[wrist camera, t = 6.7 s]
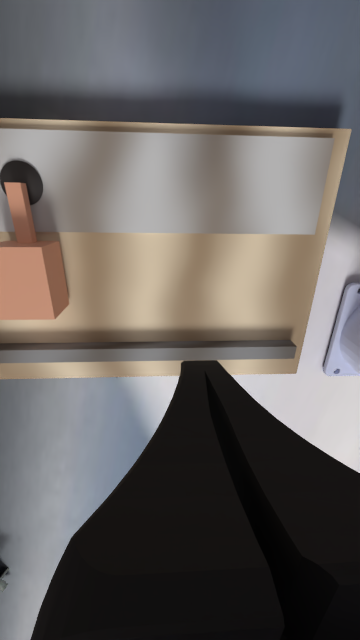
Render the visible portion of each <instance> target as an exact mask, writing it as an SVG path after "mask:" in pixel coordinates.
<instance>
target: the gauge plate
mask: <svg viewBox="0 0 360 640" xmlns="http://www.w3.org/2000/svg"><path fill="white" fill-rule="evenodd" d="M350 134H351V129H333V128H301V127H269V126H237V125H205V124H173V123H141V122H109V121H77V120H45V119H13V118H0V242H3V241H17V238H16V234H15V229H14V225H13V220H12V216H11V211H10V207H9V202H8V198H7V193H6V189H5V184H4V182H9V183H26V187H27V192H28V197H29V203H30V208H31V213H32V218H33V223H34V228H35V233H36V239H37V241H59V244H60V250H61V256H62V262H63V268H64V274H65V281H66V287H67V293H68V299H69V305H68V306H67V307H66V308H65V309H64V310H63V311H62V313H61V314H60V315H59V316H58V317H57V318H56V319H52V320H0V379H32V378H85V377H138V376H180V372H181V363H182V362H183V361H193V360H217V361H218V362H219V363H220V364H221V365H222V366H223V367H224V368H225V370H226V371H227V372H228V373H229V374H230V375H244V374H296V372H297V368H298V364H299V359H300V355H301V350H302V346H303V342H304V337H305V333H306V328H307V324H308V319H309V315H310V311H311V306H312V302H313V297H314V293H315V288H316V284H317V280H318V275H319V271H320V266H321V262H322V258H323V253H324V249H325V244H326V240H327V235H328V231H329V227H330V222H331V218H332V213H333V209H334V205H335V200H336V196H337V191H338V187H339V182H340V178H341V174H342V169H343V165H344V160H345V156H346V151H347V147H348V143H349V138H350Z"/></svg>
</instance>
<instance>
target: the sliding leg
mask: <svg viewBox="0 0 360 640" xmlns="http://www.w3.org/2000/svg"><path fill="white" fill-rule="evenodd" d="M4 184H5V189H6V193H7V198H8V202H9V207H10V211H11V216H12V220H13V225H14V229H15V234H16V238H17V241H3V242H0V320H52V319H56V318H57V317H58V316H59V315H60V314H61V313H62V311H63V310H64V309H65V308H66V307H67V306H68V305H69V299H68V293H67V287H66V281H65V274H64V268H63V262H62V256H61V250H60V244H59V241H37V239H36V233H35V228H34V223H33V218H32V213H31V208H30V203H29V197H28V192H27V187H26V183H9V182H4Z"/></svg>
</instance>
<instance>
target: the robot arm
mask: <svg viewBox="0 0 360 640" xmlns="http://www.w3.org/2000/svg"><path fill="white" fill-rule="evenodd" d="M359 288H360V283H350V284H348V285H347V286H346V288H345V291H344V294H343V298H342V302H341V305H340V309H339V313H338V316H337V320H336V324H335V327H334V331H333V335H332V338H331V342H330V346H329V349H328V353H327V357H326V360H325V364H324V368H323V372H324V373H325V374H326V375H327V376H359V375H360V291H359V292H358V289H359ZM335 369H337V370H336V371H334V370H335ZM31 640H360V473H358V472H356V471H355V470H353V469H351V468H349V467H348V466H346V465H344V464H343V463H341V462H339V461H338V460H336V459H334V458H333V457H331V456H329V455H328V454H326V453H325V452H323V451H322V450H320V449H319V448H317V447H315V446H314V445H312V444H311V443H309V442H308V441H306V440H305V439H303V438H302V437H301V436H299V435H298V434H296V433H295V432H294V431H292V430H291V429H290V428H288V427H287V426H286V425H284V424H283V423H282V422H280V421H279V420H278V419H276V418H275V417H274V416H273V415H272V414H270V413H269V412H268V411H267V410H266V409H265V408H263V407H262V406H261V405H260V404H259V403H258V402H257V401H256V400H254V399H253V398H252V397H251V396H250V395H249V394H248V393H247V392H246V391H245V390H244V389H243V388H242V387H241V386H240V385H239V384H238V383H237V382H236V381H235V379H234V378H233V377H232V376H231V375H230V374H229V373H228V372H227V371H226V370H225V368H224V367H223V366H222V365H221V364H220V363H219V362H218V361H217V360H193V361H183V362H182V363H181V372H180V377H179V380H178V384H177V387H176V389H175V392H174V395H173V398H172V400H171V402H170V404H169V407H168V409H167V411H166V413H165V415H164V417H163V419H162V421H161V423H160V425H159V426H158V428H157V430H156V432H155V433H154V435H153V437H152V438H151V440H150V441H149V443H148V445H147V446H146V448H145V449H144V451H143V452H142V454H141V455H140V457H139V458H138V459H137V461H136V462H135V464H134V465H133V466H132V468H131V469H130V470H129V471H128V473H127V474H126V475H125V476H124V478H123V479H122V480H121V482H120V483H119V484H118V485H117V487H116V488H115V489H114V490H113V492H112V493H111V494H110V495H109V496H108V498H107V499H106V500H105V501H104V502H103V503H102V504H101V505H100V507H99V508H98V509H97V510H96V511H95V512H94V513H93V514H92V515H91V516H90V518H89V519H88V520H87V521H86V522H85V523H84V524H83V525H82V526H81V527H80V529H79V530H78V531H77V532H76V533H75V534H74V535H73V536H72V538H71V540H70V542H69V544H68V546H67V548H66V550H65V552H64V554H63V556H62V558H61V560H60V562H59V564H58V566H57V569H56V571H55V573H54V575H53V578H52V580H51V582H50V585H49V587H48V590H47V593H46V595H45V597H44V600H43V602H42V605H41V608H40V611H39V614H38V617H37V620H36V624H35V627H34V630H33V634H32V637H31Z"/></svg>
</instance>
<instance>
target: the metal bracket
mask: <svg viewBox="0 0 360 640" xmlns="http://www.w3.org/2000/svg"><path fill="white" fill-rule="evenodd" d="M8 570H9V568H7V569H6V571H5V572H4V573H3V574H2V575H1V576H0V590H2V592H3V591H4V589H5V588H6V586H7V585H8V583H6V582H5V581H4V580H1V579H2V578H3V577H4V575H5V574H6V572H7V571H8Z"/></svg>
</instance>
